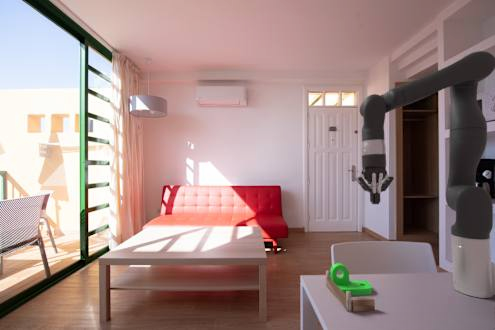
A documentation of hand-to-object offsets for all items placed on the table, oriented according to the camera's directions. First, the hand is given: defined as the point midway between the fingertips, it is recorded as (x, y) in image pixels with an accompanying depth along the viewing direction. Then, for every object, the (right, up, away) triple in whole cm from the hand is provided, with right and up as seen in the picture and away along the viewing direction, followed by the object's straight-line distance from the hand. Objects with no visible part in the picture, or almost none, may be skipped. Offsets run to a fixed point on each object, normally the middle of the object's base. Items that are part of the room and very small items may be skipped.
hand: (375, 204), depth 87 cm
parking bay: (-13, -27, -10) cm, 32 cm away
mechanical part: (-10, -27, -6) cm, 30 cm away
